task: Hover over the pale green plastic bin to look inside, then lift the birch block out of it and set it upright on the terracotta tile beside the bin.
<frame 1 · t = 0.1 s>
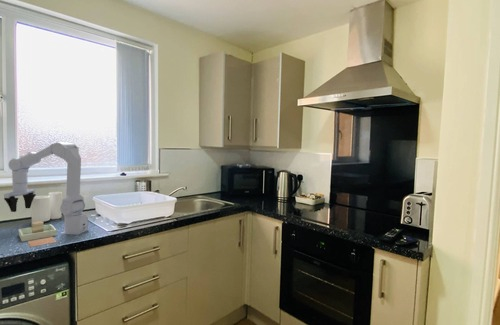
hand: (20, 209, 136), 10 cm above the countertop, tool pointing down, fingers open, 7 cm apart
cup: (41, 222, 150), on the countertop
birch block: (37, 228, 128), in the pale green bin
pale green bin: (37, 235, 128), on the countertop
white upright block: (55, 218, 159), on the countertop
terracotta tile: (42, 242, 120), on the countertop
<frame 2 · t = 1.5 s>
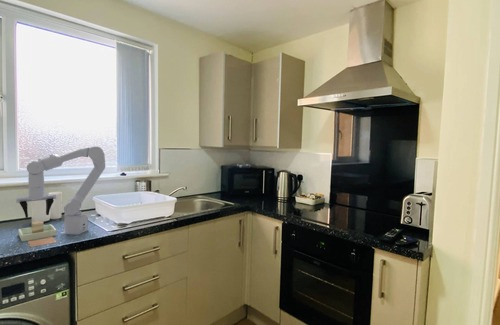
hand: (37, 216, 128), 9 cm above the countertop, tool pointing down, fingers open, 7 cm apart
nothing on the countertop moved.
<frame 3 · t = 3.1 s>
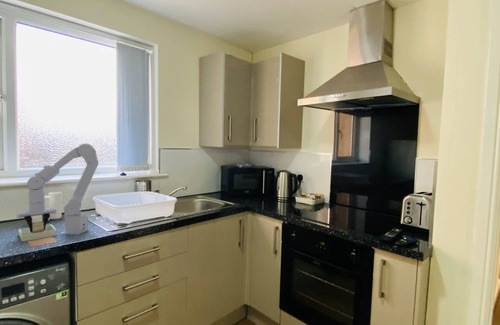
hand: (37, 230, 128), 2 cm above the countertop, tool pointing down, fingers closed on birch block, 4 cm apart
birch block: (37, 228, 128), in the pale green bin, touching gripper
everything else where it was.
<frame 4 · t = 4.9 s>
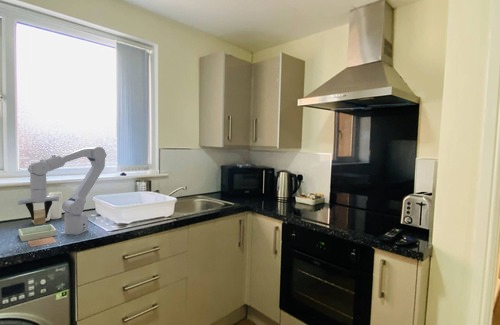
hand: (39, 218, 123), 9 cm above the countertop, tool pointing down, fingers closed on birch block, 4 cm apart
birch block: (39, 216, 123), point 10 cm above the countertop, touching gripper
everything else where it was.
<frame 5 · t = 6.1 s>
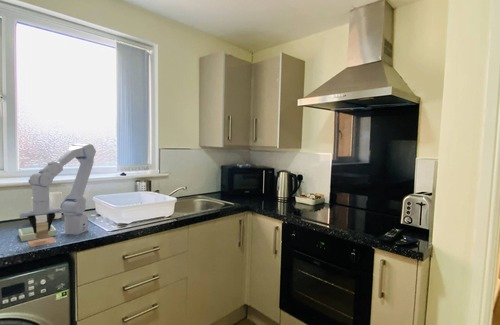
hand: (41, 231, 119), 5 cm above the countertop, tool pointing down, fingers closed on birch block, 4 cm apart
birch block: (41, 229, 120), point 6 cm above the countertop, touching gripper
everything else where it was.
when the fingers open (4 cm above the countertop, at t = 6.8 s): birch block stays where it is, resting on terracotta tile.
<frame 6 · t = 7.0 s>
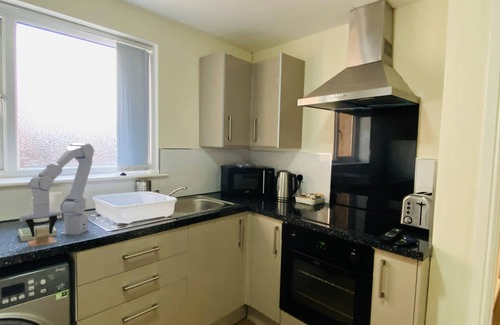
hand: (42, 234, 119), 4 cm above the countertop, tool pointing down, fingers open, 5 cm apart
birch block: (41, 234, 120), on the terracotta tile
everything else where it was.
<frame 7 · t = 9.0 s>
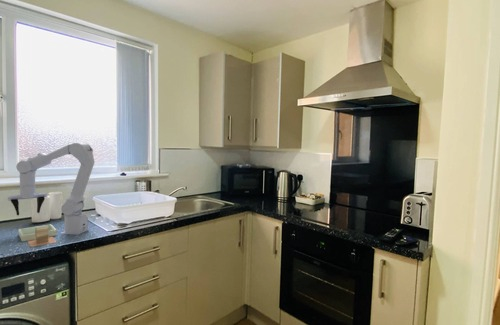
hand: (28, 213, 131), 9 cm above the countertop, tool pointing down, fingers open, 7 cm apart
nothing on the countertop moved.
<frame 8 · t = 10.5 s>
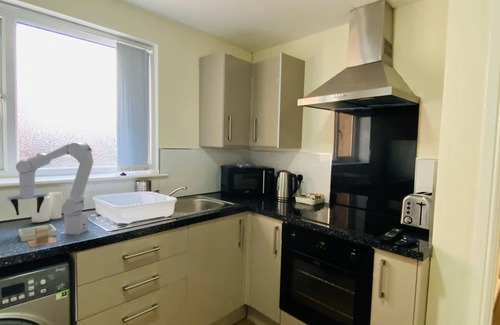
hand: (28, 213, 132), 9 cm above the countertop, tool pointing down, fingers open, 7 cm apart
nothing on the countertop moved.
at the end: birch block 0.3 cm from the terracotta tile (horizontally); birch block tilted 0°; the gripper is holding nothing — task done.
